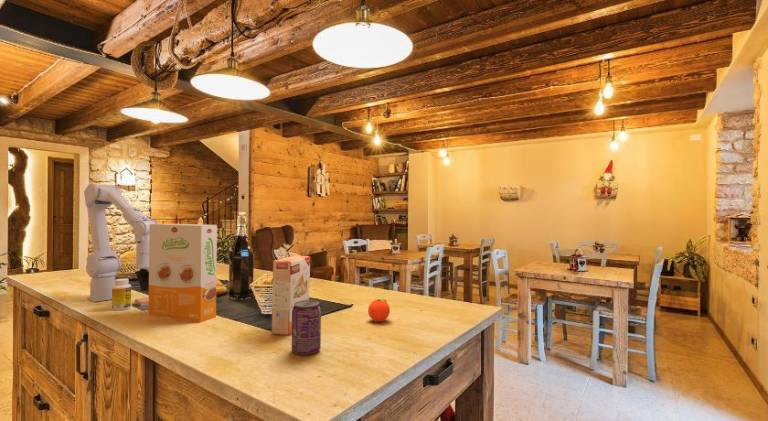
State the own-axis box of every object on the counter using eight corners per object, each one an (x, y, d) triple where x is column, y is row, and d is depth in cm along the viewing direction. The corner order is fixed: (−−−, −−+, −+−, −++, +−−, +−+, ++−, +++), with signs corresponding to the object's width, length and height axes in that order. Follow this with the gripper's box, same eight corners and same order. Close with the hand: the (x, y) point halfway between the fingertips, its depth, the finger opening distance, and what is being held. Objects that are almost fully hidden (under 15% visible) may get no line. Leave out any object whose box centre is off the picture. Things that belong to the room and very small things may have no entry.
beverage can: (308, 344, 99) (308, 298, 99) (326, 350, 94) (326, 302, 94) (285, 351, 93) (286, 303, 93) (303, 359, 89) (304, 308, 89)
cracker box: (290, 336, 105) (291, 261, 105) (270, 334, 106) (271, 260, 106) (310, 321, 118) (311, 255, 118) (292, 320, 120) (293, 254, 120)
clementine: (378, 316, 126) (378, 294, 126) (395, 319, 122) (395, 297, 122) (363, 321, 119) (363, 299, 119) (381, 325, 115) (381, 302, 115)
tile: (134, 299, 137) (141, 302, 133) (153, 296, 142) (159, 299, 138) (134, 303, 137) (141, 306, 133) (153, 300, 142) (159, 303, 138)
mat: (132, 305, 136) (132, 304, 136) (159, 300, 143) (159, 300, 143) (143, 310, 129) (143, 309, 129) (171, 305, 136) (171, 304, 136)
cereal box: (215, 317, 122) (217, 225, 122) (200, 322, 116) (201, 225, 116) (165, 310, 130) (166, 223, 130) (148, 314, 124) (149, 224, 124)
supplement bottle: (126, 310, 129) (127, 280, 129) (108, 311, 128) (108, 281, 128) (133, 306, 135) (134, 277, 135) (116, 307, 133) (116, 278, 133)
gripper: (165, 253, 137) (164, 290, 137) (150, 250, 147) (149, 285, 147) (143, 255, 132) (142, 294, 132) (129, 252, 141) (128, 288, 141)
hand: (145, 289), depth 139 cm, fingers closed
